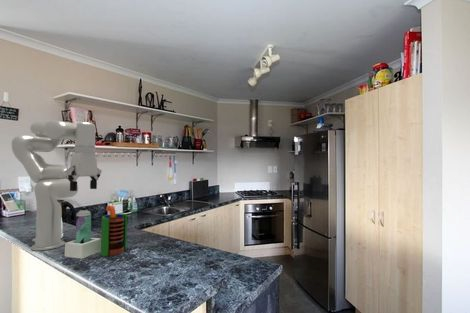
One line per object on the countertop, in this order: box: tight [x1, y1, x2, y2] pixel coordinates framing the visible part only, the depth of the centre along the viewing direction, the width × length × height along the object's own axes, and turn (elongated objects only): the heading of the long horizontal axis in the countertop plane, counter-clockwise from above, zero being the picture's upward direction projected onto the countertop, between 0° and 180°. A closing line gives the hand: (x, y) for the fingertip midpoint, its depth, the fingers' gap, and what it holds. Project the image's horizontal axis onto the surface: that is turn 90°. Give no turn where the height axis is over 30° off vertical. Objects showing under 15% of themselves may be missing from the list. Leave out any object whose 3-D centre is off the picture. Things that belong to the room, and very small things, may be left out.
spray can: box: [75, 206, 92, 244], centre depth 105 cm, size 6×6×20 cm
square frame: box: [64, 237, 101, 259], centre depth 105 cm, size 9×9×6 cm
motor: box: [100, 205, 128, 257], centre depth 107 cm, size 10×9×20 cm
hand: (83, 189), depth 106 cm, fingers open, 9 cm apart
